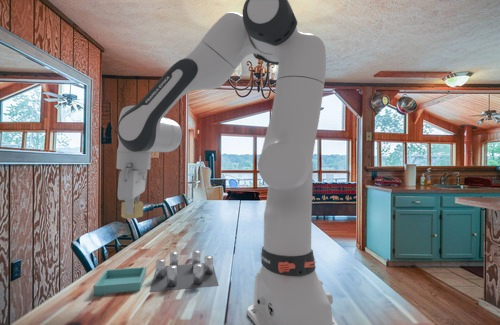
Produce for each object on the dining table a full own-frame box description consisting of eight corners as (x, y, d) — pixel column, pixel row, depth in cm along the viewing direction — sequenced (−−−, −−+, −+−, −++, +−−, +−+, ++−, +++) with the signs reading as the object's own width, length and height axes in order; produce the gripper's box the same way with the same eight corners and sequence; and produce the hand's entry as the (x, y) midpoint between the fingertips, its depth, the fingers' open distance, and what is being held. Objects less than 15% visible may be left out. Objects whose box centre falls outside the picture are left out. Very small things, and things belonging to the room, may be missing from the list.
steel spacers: (215, 283, 75) (215, 265, 75) (153, 288, 71) (153, 270, 71) (210, 264, 90) (210, 249, 90) (158, 268, 86) (158, 252, 86)
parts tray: (140, 291, 70) (140, 282, 70) (93, 296, 68) (93, 286, 68) (146, 275, 81) (146, 266, 81) (106, 278, 79) (106, 269, 79)
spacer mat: (218, 287, 74) (218, 285, 74) (149, 293, 70) (149, 292, 70) (212, 263, 91) (212, 262, 91) (156, 267, 87) (156, 266, 87)
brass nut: (144, 214, 79) (144, 200, 79) (141, 218, 74) (142, 203, 74) (123, 215, 78) (123, 200, 78) (118, 218, 73) (119, 203, 73)
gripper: (139, 163, 67) (137, 219, 67) (150, 163, 87) (148, 206, 86) (111, 162, 65) (109, 219, 65) (129, 162, 85) (127, 206, 85)
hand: (132, 212), depth 76 cm, fingers closed on brass nut, 5 cm apart
